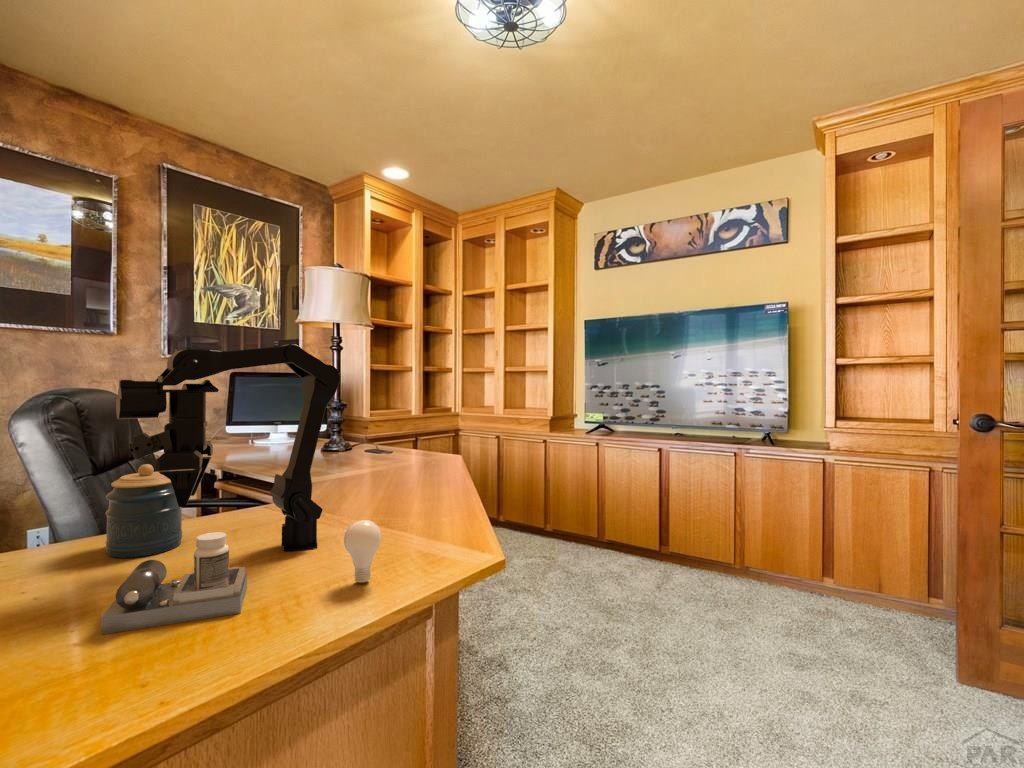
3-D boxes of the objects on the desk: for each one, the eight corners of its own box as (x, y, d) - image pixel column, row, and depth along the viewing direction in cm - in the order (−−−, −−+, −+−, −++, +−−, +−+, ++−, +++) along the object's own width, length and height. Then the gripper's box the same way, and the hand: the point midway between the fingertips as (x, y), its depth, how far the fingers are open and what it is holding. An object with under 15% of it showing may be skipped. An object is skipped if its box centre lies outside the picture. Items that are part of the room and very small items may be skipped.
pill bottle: (235, 584, 79) (236, 533, 79) (209, 596, 75) (209, 542, 75) (213, 580, 81) (214, 529, 81) (186, 592, 76) (186, 538, 76)
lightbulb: (346, 593, 83) (347, 527, 83) (340, 579, 88) (341, 518, 88) (384, 586, 86) (385, 523, 86) (376, 573, 91) (377, 514, 91)
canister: (157, 535, 112) (158, 457, 112) (196, 543, 107) (197, 462, 107) (90, 553, 100) (91, 466, 100) (130, 563, 95) (131, 471, 95)
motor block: (246, 587, 84) (247, 547, 84) (239, 615, 74) (240, 569, 74) (124, 604, 78) (125, 560, 78) (99, 636, 68) (99, 586, 68)
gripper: (147, 414, 96) (146, 494, 96) (118, 422, 79) (117, 518, 80) (213, 413, 101) (212, 489, 101) (199, 420, 84) (198, 511, 84)
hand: (187, 500), depth 91 cm, fingers open, 9 cm apart
